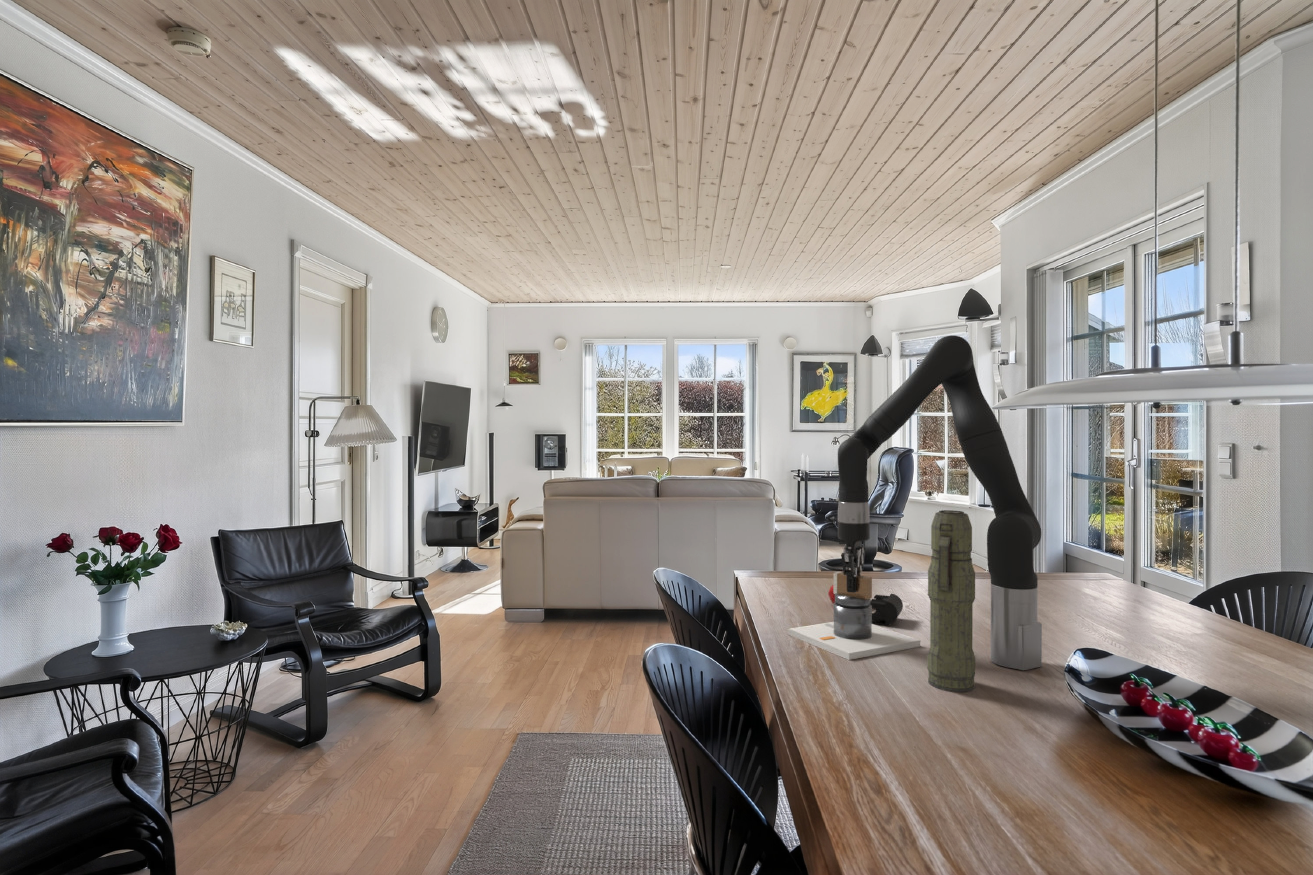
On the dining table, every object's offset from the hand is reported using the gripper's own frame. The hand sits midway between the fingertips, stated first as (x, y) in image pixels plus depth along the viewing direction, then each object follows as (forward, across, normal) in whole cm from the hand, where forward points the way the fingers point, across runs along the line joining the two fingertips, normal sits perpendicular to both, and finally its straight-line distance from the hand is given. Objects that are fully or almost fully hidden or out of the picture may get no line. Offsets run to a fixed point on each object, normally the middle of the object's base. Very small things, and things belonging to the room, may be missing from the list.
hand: (853, 590), depth 173 cm
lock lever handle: (+3, 0, 0) cm, 3 cm away
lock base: (+12, 0, 0) cm, 12 cm away
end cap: (+13, +22, -3) cm, 25 cm away
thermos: (+13, -20, -25) cm, 34 cm away
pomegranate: (+13, +33, +11) cm, 37 cm away
